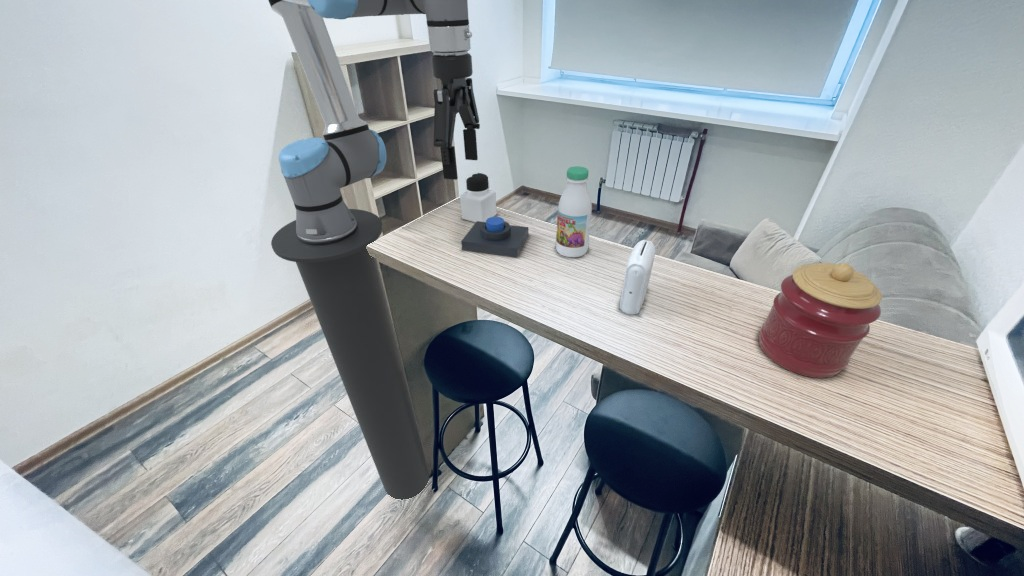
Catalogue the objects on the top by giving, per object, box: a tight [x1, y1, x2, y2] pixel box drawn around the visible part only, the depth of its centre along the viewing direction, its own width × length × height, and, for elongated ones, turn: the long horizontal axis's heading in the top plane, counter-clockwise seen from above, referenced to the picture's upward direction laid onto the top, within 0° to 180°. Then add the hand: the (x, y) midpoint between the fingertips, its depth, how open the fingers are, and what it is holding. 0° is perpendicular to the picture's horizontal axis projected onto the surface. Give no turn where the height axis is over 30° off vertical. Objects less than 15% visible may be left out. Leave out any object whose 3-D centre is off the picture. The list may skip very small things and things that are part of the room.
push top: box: [486, 216, 505, 232], centre depth 99 cm, size 4×4×2 cm
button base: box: [461, 220, 529, 258], centre depth 101 cm, size 14×11×4 cm
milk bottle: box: [555, 166, 593, 258], centre depth 93 cm, size 8×8×20 cm
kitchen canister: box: [758, 262, 883, 379], centre depth 65 cm, size 13×13×18 cm
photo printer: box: [619, 239, 656, 315], centre depth 79 cm, size 10×4×12 cm, turn 155°
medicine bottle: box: [459, 172, 498, 223], centre depth 111 cm, size 7×7×12 cm
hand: (461, 168), depth 88 cm, fingers open, 11 cm apart
